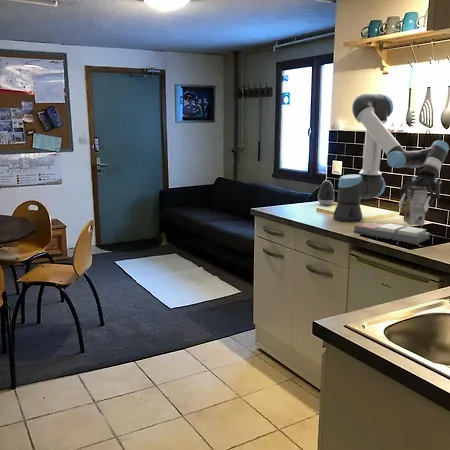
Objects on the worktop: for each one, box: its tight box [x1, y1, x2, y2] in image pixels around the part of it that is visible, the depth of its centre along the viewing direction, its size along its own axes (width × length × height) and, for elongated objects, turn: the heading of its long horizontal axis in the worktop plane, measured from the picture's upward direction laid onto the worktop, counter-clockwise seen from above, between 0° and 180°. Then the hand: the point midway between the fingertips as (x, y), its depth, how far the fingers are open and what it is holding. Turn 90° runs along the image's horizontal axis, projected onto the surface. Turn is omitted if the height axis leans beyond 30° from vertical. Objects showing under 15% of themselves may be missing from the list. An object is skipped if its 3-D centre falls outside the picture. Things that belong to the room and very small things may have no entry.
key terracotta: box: [358, 222, 382, 229], centre depth 230 cm, size 8×11×2 cm
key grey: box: [377, 223, 406, 233], centre depth 224 cm, size 8×11×2 cm
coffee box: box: [403, 186, 429, 226], centre depth 214 cm, size 9×6×16 cm
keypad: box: [353, 222, 431, 245], centre depth 224 cm, size 30×14×3 cm, turn 46°
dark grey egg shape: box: [317, 179, 335, 206], centre depth 303 cm, size 10×10×15 cm
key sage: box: [398, 226, 427, 237], centre depth 217 cm, size 8×11×2 cm
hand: (412, 208), depth 212 cm, fingers closed on coffee box, 10 cm apart
